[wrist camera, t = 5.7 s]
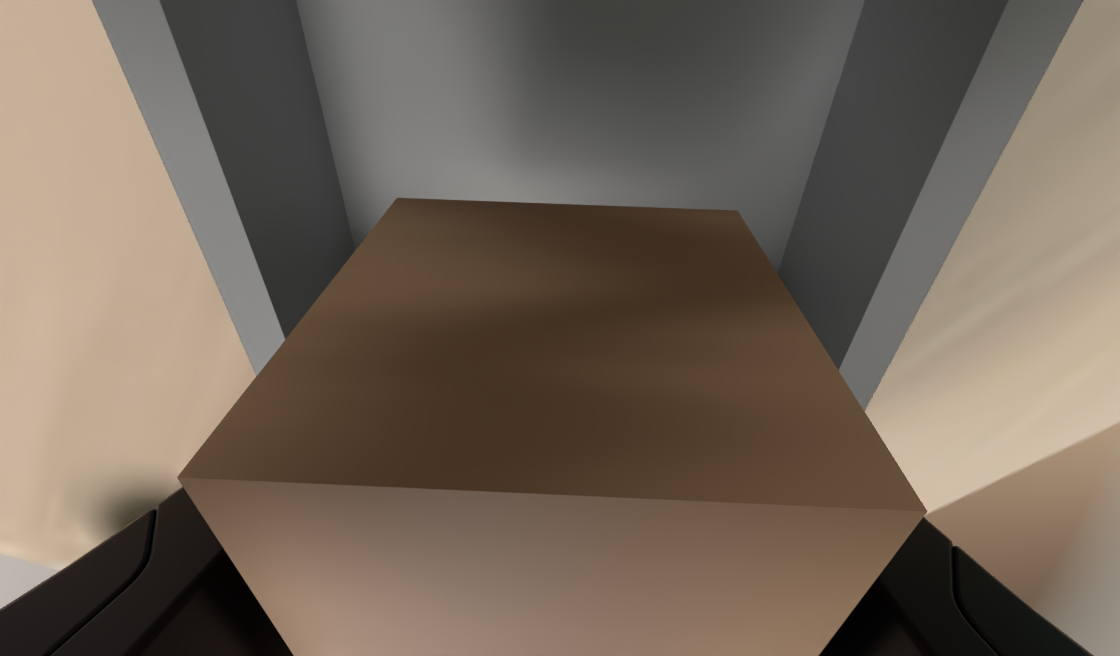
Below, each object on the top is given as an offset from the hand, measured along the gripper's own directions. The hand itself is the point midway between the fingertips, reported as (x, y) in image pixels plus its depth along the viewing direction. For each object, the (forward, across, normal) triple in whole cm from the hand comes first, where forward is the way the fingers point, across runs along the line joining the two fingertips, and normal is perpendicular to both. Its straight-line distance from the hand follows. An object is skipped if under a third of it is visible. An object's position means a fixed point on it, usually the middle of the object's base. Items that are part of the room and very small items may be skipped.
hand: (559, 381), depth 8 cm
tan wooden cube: (+1, 0, 0) cm, 1 cm away
